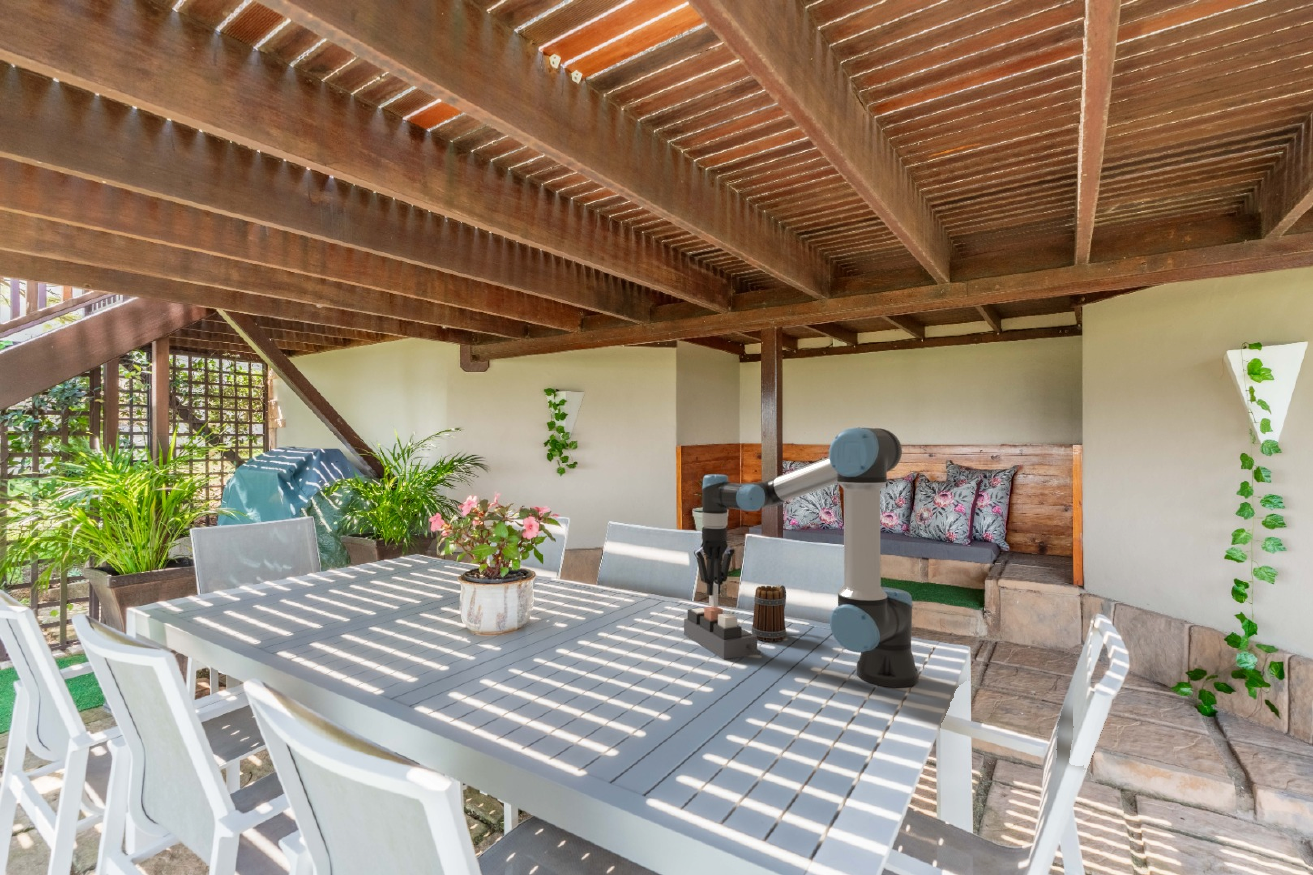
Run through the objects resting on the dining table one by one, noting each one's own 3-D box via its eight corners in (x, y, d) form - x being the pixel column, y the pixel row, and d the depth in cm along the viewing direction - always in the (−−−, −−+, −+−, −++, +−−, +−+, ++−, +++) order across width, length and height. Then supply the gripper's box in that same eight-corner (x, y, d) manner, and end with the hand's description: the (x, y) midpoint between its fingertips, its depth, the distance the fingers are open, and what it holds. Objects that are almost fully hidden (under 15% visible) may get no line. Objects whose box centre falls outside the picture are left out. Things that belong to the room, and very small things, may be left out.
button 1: (737, 627, 186) (737, 616, 186) (725, 628, 184) (725, 618, 184) (729, 623, 190) (729, 613, 189) (717, 624, 188) (718, 614, 188)
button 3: (709, 620, 200) (709, 611, 200) (697, 622, 199) (697, 612, 199) (702, 617, 204) (702, 607, 204) (691, 618, 202) (691, 609, 202)
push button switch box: (768, 660, 182) (768, 631, 181) (734, 665, 177) (734, 636, 177) (714, 630, 208) (714, 605, 208) (683, 634, 204) (684, 609, 203)
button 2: (722, 619, 193) (722, 609, 193) (710, 621, 191) (711, 610, 191) (715, 616, 197) (715, 606, 197) (704, 617, 195) (704, 607, 195)
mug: (776, 644, 195) (777, 594, 195) (745, 637, 201) (745, 589, 201) (798, 632, 207) (799, 585, 207) (768, 626, 214) (769, 580, 214)
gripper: (726, 523, 200) (725, 600, 200) (689, 525, 194) (688, 604, 195) (740, 527, 193) (738, 606, 193) (701, 529, 188) (700, 611, 188)
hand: (713, 605), depth 194 cm, fingers closed
